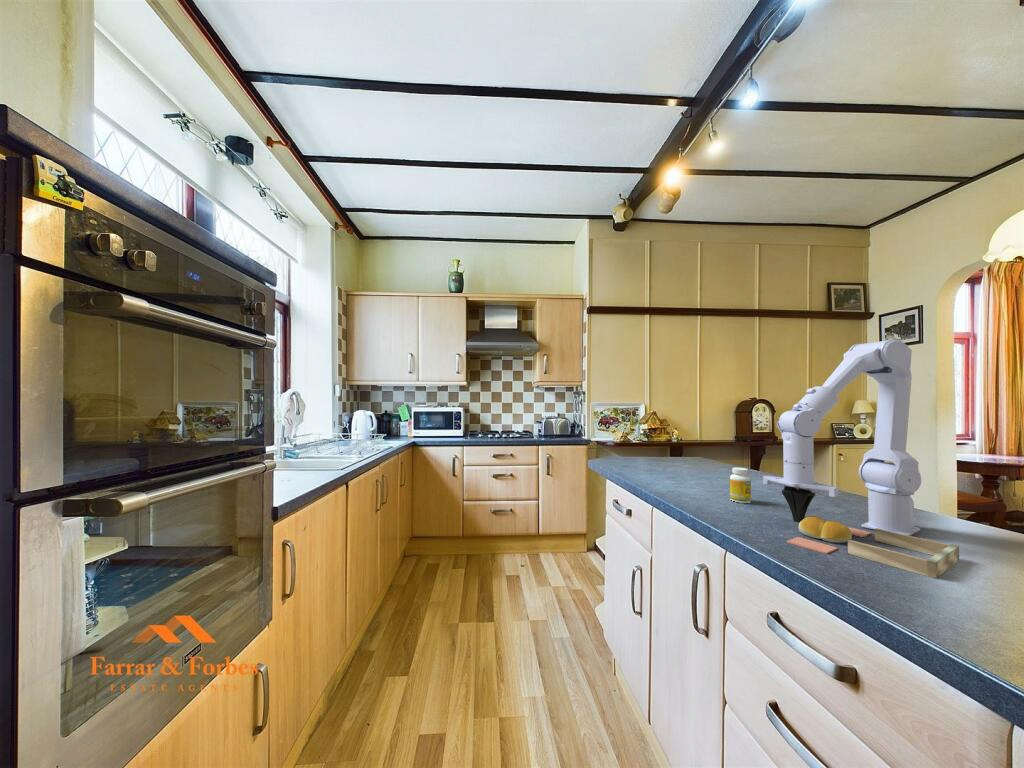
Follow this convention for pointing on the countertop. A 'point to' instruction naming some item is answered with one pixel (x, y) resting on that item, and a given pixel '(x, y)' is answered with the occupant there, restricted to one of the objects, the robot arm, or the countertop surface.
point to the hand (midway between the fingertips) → (798, 521)
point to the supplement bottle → (740, 486)
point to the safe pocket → (931, 567)
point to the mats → (823, 547)
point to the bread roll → (825, 529)
